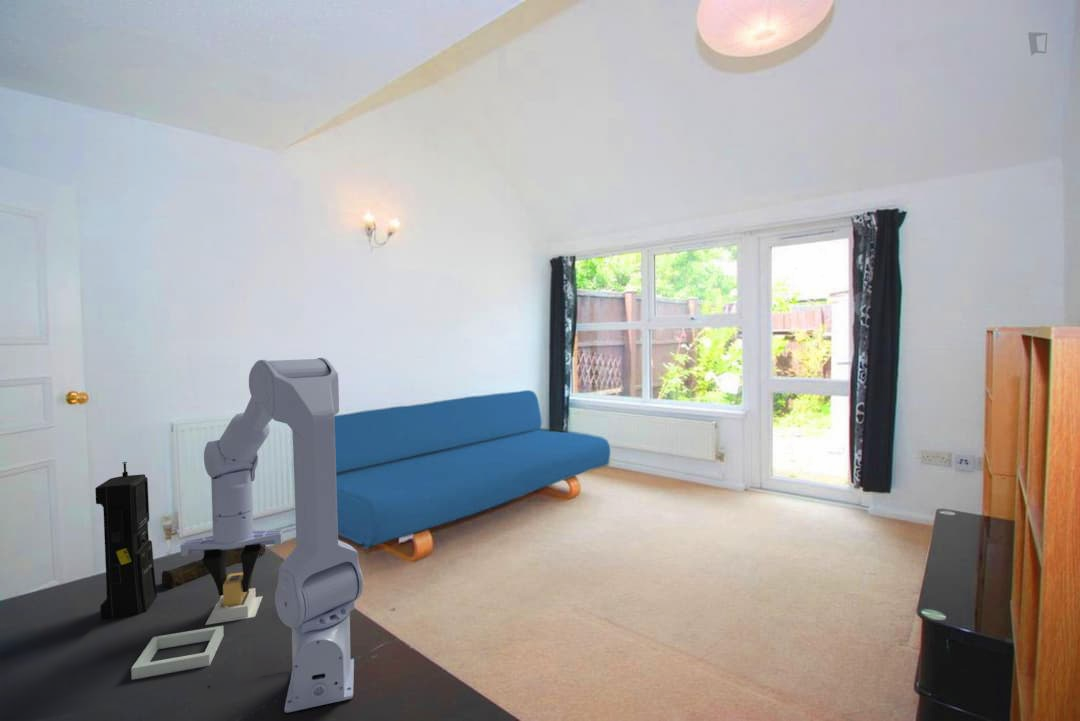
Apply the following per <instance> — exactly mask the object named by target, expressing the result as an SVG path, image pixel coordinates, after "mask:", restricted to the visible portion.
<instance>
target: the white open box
mask: <svg viewBox="0 0 1080 721" xmlns="http://www.w3.org/2000/svg"><path fill="white" fill-rule="evenodd" d="M263 597H264V595H261V596H256V587H253V588H249V590H248V592H246V594H245V596H244V598H243V600H242V604H243V605H239V606H233V607H228V606H223V595H222V596H220V598H219V600H218V602H217V603H216V604H215V606H214V608H213V609H212V611H211V613H210V615H209V617H208V619H207V621H206V623H205V626H207V625H208V626H209V625H212V624H213V625H215V624H219V623H220V624H221V623H225V622H226V623H227V622H232V621H239V620H245V619H252V618H256V615H257V613H258V610H259V607H260V605H261V603H262V599H263Z"/></svg>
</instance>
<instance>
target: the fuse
mask: <svg viewBox="0 0 1080 721" xmlns="http://www.w3.org/2000/svg"><path fill="white" fill-rule="evenodd" d="M245 594H246V592H243V571H242V572H235V573H229V574H228V575H227V579H226V580H225V582H224V584H223V606H228V607H233V606H239V605H243V604H242V600H243V598H244V596H245Z"/></svg>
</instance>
